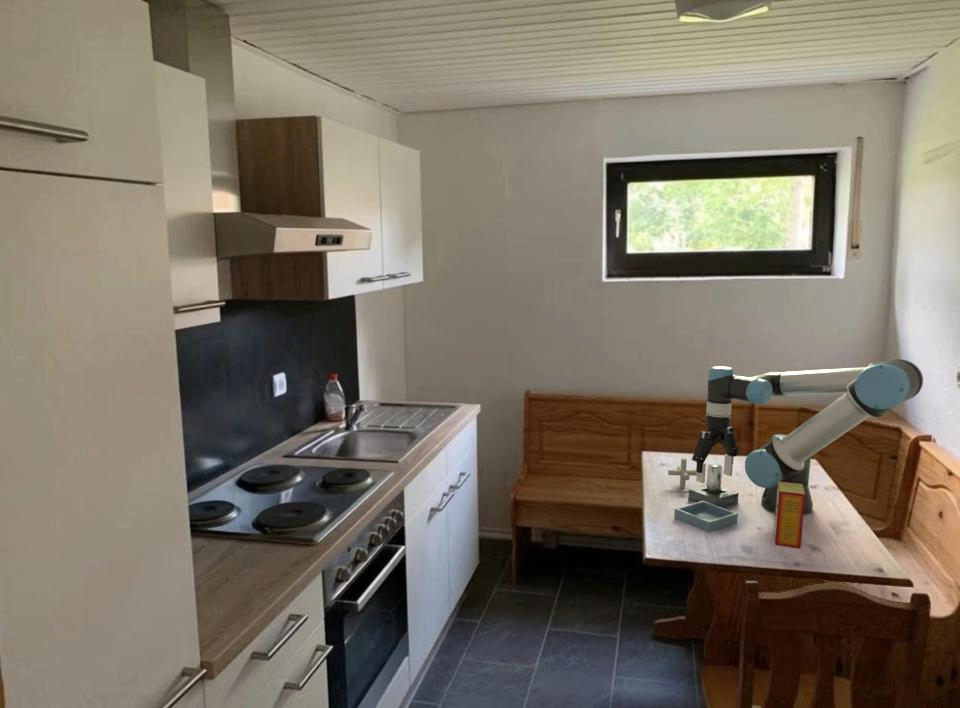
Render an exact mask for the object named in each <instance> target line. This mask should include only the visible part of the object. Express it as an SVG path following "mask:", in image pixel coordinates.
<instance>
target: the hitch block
mask: <svg viewBox="0 0 960 708" xmlns="http://www.w3.org/2000/svg"><path fill="white" fill-rule="evenodd" d="M706 491H707V483H706V484H704V485H699V486H695V487H691V488H689V489H688V496H687V497H688V500H689V501H691V502H693V503H696V502H700V501H705V502H708V503H711V504H714V505H716V506H719V507H722V508H726V507H730V506H732V505H736V504H739V495H740V494H739V492H737V491H735V490H732V489H728V488H726V487H722V486H721V494H718V495H713V494H710V493H707V492H706Z"/></svg>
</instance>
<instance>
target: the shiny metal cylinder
mask: <svg viewBox="0 0 960 708" xmlns="http://www.w3.org/2000/svg"><path fill="white" fill-rule="evenodd" d="M722 475H723V466H722V465H721V464H717V463H709V464H708V465H707V477H706V484H707V491H706V492H707V493H710V494H713V495H718V494H721V487H722Z"/></svg>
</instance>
